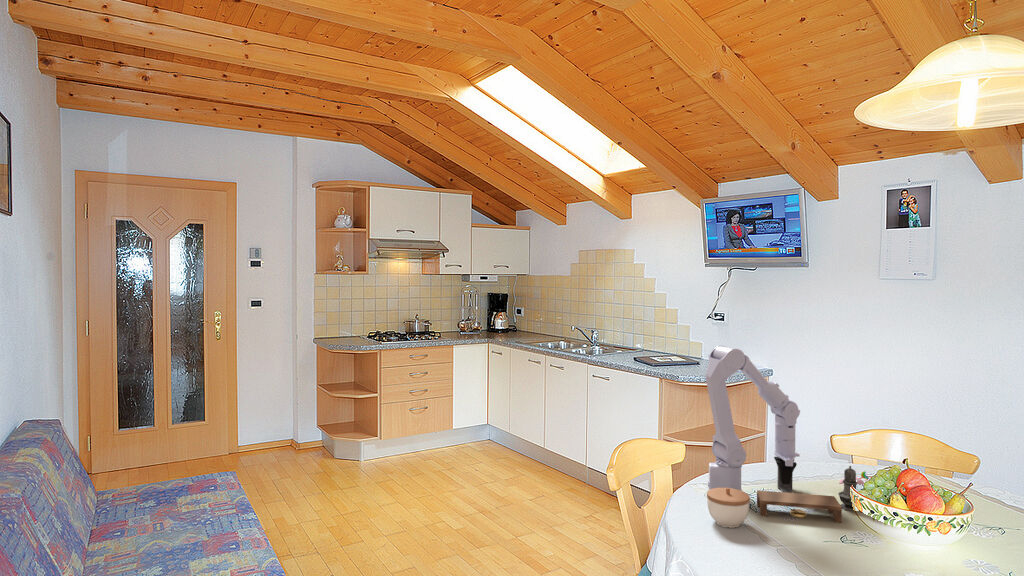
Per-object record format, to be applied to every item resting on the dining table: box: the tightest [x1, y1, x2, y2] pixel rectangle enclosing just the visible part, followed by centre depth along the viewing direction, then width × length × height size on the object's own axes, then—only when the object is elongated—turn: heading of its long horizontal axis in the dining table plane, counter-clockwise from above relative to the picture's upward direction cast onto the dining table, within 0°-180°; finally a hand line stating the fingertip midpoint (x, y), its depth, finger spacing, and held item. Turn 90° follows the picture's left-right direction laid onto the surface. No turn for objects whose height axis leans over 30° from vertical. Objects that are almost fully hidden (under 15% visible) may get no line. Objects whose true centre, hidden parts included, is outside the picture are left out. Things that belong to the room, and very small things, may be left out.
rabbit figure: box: [838, 471, 870, 486], centre depth 188 cm, size 6×6×15 cm
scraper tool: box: [777, 466, 794, 493], centre depth 183 cm, size 5×15×7 cm, turn 165°
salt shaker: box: [837, 465, 857, 512], centre depth 173 cm, size 6×6×12 cm
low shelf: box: [756, 489, 843, 524], centre depth 170 cm, size 20×8×4 cm, turn 75°
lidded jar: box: [706, 488, 751, 529], centre depth 164 cm, size 11×11×9 cm
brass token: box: [790, 508, 807, 519], centre depth 169 cm, size 4×4×1 cm
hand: (785, 482), depth 189 cm, fingers closed
